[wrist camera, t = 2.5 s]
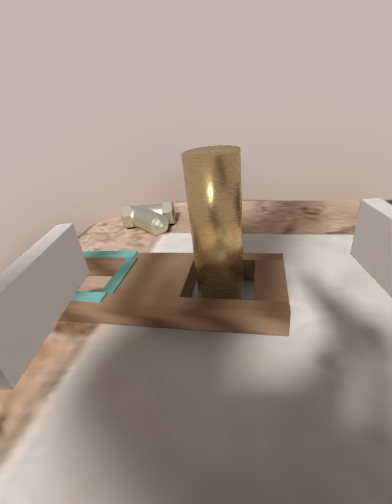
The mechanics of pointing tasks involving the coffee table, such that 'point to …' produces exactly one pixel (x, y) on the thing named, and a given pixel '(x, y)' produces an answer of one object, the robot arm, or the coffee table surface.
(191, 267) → the walnut rail
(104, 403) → the coffee table surface
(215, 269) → the brass peg
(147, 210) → the pipe fitting
